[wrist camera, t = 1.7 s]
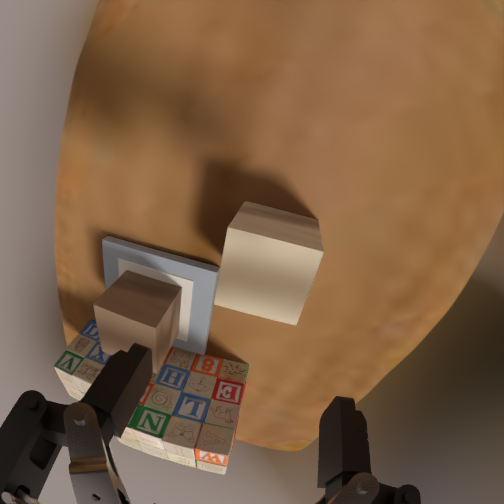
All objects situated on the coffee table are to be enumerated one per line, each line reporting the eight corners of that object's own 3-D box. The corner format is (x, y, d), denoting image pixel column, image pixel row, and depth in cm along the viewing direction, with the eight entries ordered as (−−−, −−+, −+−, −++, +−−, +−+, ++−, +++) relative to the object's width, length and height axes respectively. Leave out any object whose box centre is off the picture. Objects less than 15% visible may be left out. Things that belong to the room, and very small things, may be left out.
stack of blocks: (100, 350, 35) (57, 411, 24) (91, 318, 32) (38, 381, 21) (244, 393, 33) (225, 476, 22) (251, 363, 31) (229, 458, 20)
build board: (107, 235, 26) (101, 239, 25) (219, 267, 25) (216, 273, 24) (113, 317, 31) (109, 322, 30) (206, 349, 30) (203, 356, 29)
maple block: (245, 200, 23) (227, 226, 17) (318, 219, 22) (323, 252, 17) (232, 264, 25) (214, 304, 20) (297, 281, 25) (295, 325, 20)
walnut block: (126, 269, 26) (93, 304, 21) (182, 287, 26) (155, 328, 20) (129, 315, 29) (102, 351, 23) (178, 332, 28) (157, 373, 23)
